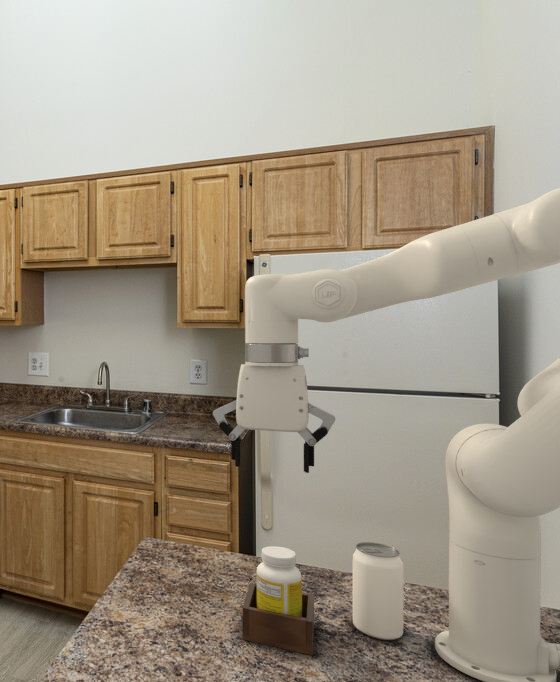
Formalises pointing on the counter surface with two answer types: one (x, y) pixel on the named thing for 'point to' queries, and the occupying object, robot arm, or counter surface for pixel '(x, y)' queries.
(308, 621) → the box
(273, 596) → the pill bottle
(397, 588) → the can
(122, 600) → the counter surface
